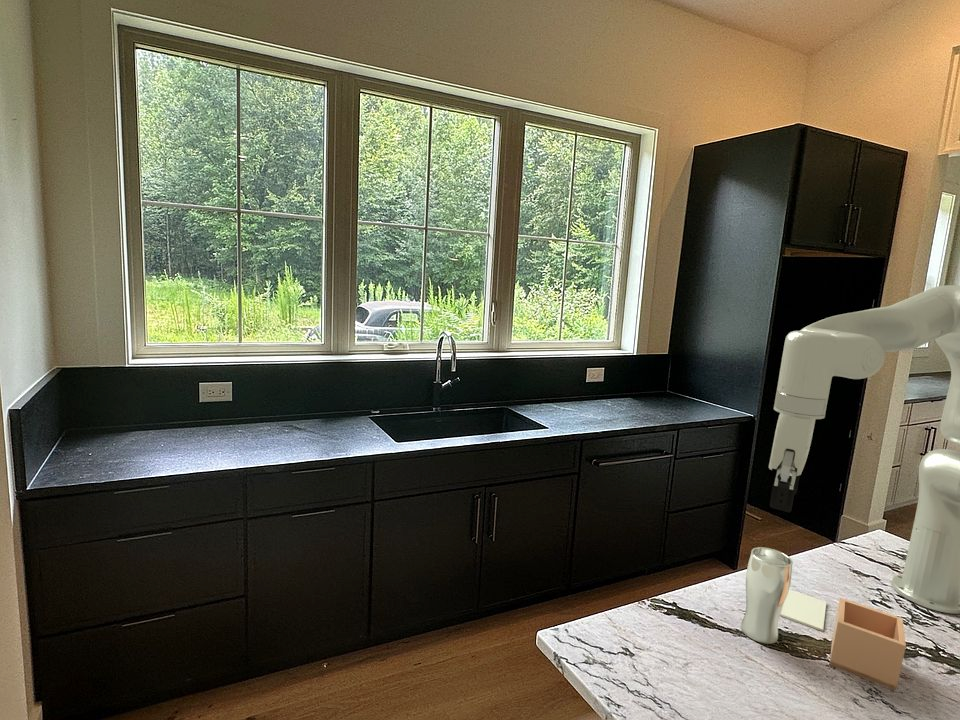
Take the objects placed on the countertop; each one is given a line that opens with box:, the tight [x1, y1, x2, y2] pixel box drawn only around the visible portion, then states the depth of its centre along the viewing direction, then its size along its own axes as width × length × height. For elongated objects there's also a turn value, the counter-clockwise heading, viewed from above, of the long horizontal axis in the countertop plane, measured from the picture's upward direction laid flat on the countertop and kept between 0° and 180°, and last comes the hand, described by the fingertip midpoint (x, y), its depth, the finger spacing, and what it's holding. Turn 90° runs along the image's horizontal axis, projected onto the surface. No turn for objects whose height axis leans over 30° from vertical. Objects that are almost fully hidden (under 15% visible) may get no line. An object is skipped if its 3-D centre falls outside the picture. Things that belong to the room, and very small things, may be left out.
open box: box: [829, 597, 907, 692], centre depth 92 cm, size 9×9×8 cm
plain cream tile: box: [779, 589, 827, 632], centre depth 108 cm, size 11×11×1 cm
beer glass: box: [740, 546, 794, 645], centre depth 98 cm, size 7×7×15 cm
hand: (783, 500), depth 95 cm, fingers open, 9 cm apart
